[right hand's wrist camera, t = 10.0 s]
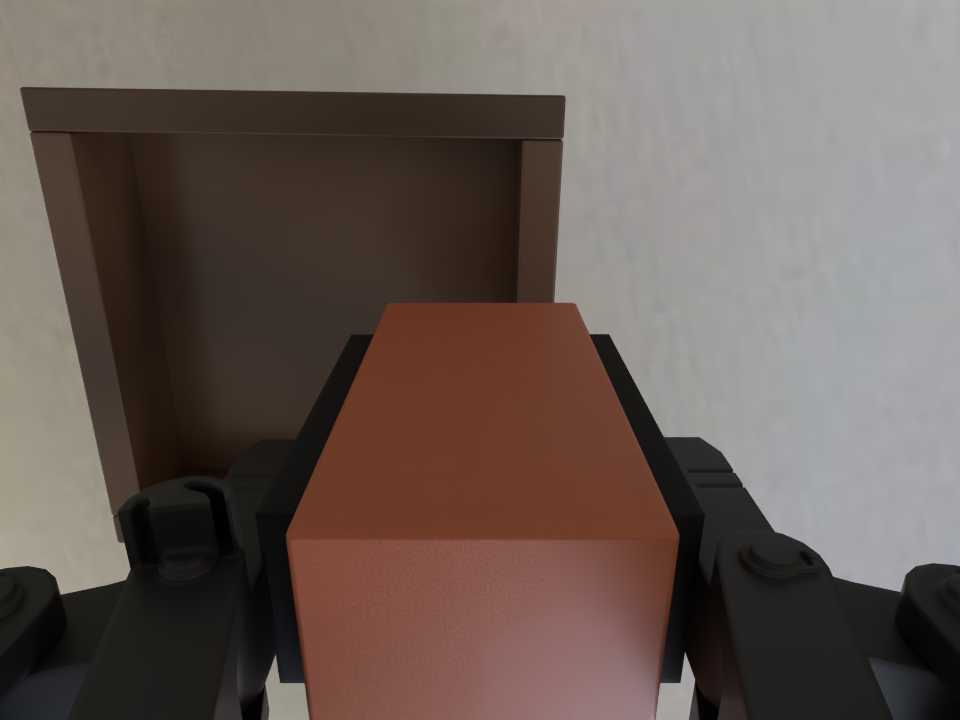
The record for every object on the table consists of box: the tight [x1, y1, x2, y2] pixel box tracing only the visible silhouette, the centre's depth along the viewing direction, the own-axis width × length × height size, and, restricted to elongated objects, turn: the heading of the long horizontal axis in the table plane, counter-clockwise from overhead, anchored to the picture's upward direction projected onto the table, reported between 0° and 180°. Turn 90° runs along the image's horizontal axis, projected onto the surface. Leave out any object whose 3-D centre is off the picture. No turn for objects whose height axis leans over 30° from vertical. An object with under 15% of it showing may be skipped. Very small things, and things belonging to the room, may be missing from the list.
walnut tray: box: [20, 87, 566, 543], centre depth 22 cm, size 28×13×4 cm, turn 179°
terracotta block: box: [286, 303, 680, 720], centre depth 11 cm, size 4×4×8 cm
